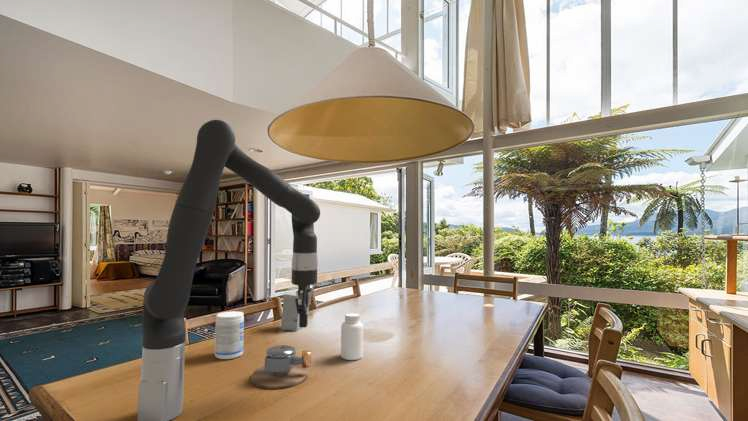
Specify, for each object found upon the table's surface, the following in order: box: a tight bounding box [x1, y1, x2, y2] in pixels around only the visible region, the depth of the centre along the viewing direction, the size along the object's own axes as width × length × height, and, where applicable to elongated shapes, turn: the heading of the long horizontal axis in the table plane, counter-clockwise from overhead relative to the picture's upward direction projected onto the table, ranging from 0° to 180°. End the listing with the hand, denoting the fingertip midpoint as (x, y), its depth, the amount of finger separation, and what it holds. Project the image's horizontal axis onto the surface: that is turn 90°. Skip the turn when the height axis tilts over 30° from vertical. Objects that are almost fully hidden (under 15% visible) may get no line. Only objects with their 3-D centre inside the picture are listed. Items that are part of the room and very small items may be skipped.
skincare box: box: [280, 292, 304, 332], centre depth 165 cm, size 8×7×16 cm
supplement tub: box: [214, 310, 245, 360], centre depth 130 cm, size 10×10×15 cm
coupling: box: [264, 345, 312, 372], centre depth 113 cm, size 14×9×5 cm, turn 90°
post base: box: [250, 365, 309, 390], centre depth 113 cm, size 18×17×6 cm
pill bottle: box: [340, 313, 364, 361], centre depth 131 cm, size 8×8×15 cm
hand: (303, 326), depth 107 cm, fingers closed
